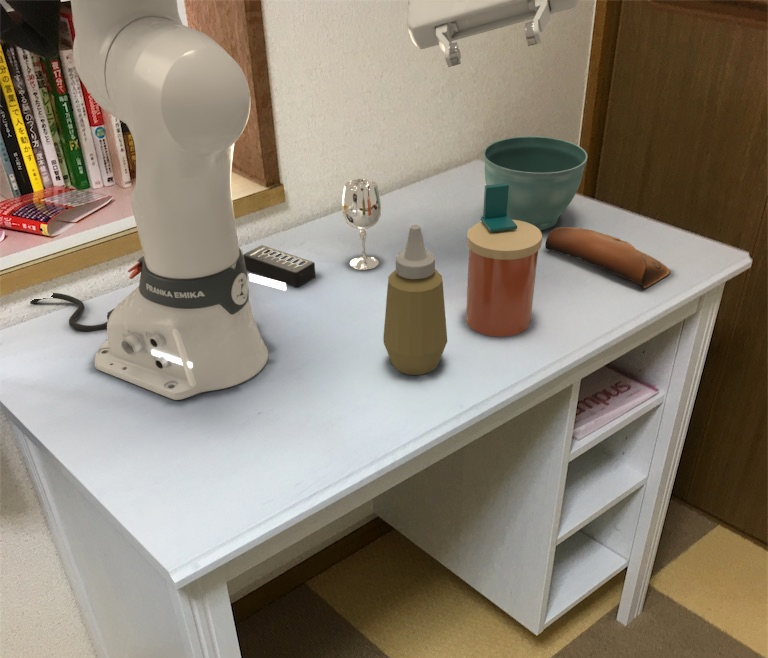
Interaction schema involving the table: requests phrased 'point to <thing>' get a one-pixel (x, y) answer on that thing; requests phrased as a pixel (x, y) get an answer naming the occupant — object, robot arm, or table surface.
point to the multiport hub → (279, 266)
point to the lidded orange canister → (500, 294)
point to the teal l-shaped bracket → (497, 208)
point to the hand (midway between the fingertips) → (492, 51)
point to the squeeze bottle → (415, 310)
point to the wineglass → (362, 214)
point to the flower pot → (536, 176)
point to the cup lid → (505, 241)
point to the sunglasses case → (607, 254)
